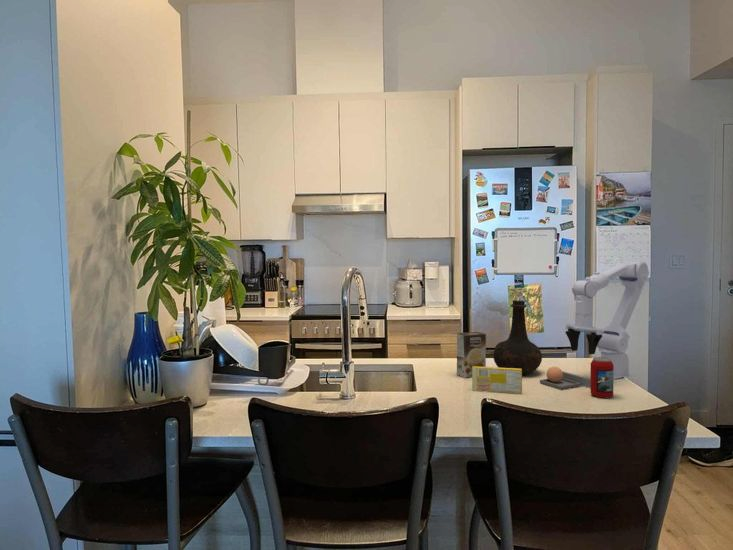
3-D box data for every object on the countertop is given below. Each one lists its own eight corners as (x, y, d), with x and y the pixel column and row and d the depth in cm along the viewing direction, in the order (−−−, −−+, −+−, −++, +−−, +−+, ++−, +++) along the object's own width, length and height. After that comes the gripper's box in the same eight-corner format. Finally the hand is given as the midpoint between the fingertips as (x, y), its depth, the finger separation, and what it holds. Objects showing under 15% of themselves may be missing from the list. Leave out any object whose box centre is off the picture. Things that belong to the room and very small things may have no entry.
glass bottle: (488, 367, 208) (487, 298, 207) (532, 366, 209) (532, 297, 208) (501, 379, 191) (501, 303, 189) (549, 377, 191) (549, 302, 190)
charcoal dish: (558, 380, 188) (558, 376, 188) (581, 386, 179) (581, 383, 179) (539, 383, 184) (539, 380, 184) (561, 390, 175) (561, 386, 175)
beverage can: (603, 400, 163) (604, 362, 162) (585, 394, 169) (585, 358, 168) (618, 396, 166) (618, 359, 165) (599, 391, 172) (600, 356, 171)
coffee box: (464, 378, 192) (464, 335, 191) (456, 374, 198) (456, 332, 197) (486, 376, 195) (486, 333, 194) (477, 372, 201) (477, 331, 200)
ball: (561, 384, 184) (552, 372, 188) (568, 374, 181) (559, 362, 185) (550, 386, 182) (540, 374, 186) (557, 376, 179) (547, 364, 182)
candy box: (522, 393, 173) (522, 368, 172) (521, 394, 171) (521, 369, 170) (472, 389, 178) (472, 365, 178) (472, 391, 176) (471, 366, 176)
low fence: (556, 377, 191) (556, 369, 191) (592, 387, 177) (592, 379, 177) (554, 378, 191) (554, 369, 191) (590, 388, 176) (590, 379, 176)
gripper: (559, 312, 190) (559, 349, 190) (592, 317, 177) (591, 356, 177) (574, 311, 193) (573, 348, 193) (607, 316, 180) (606, 355, 180)
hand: (583, 352), depth 185 cm, fingers open, 7 cm apart
